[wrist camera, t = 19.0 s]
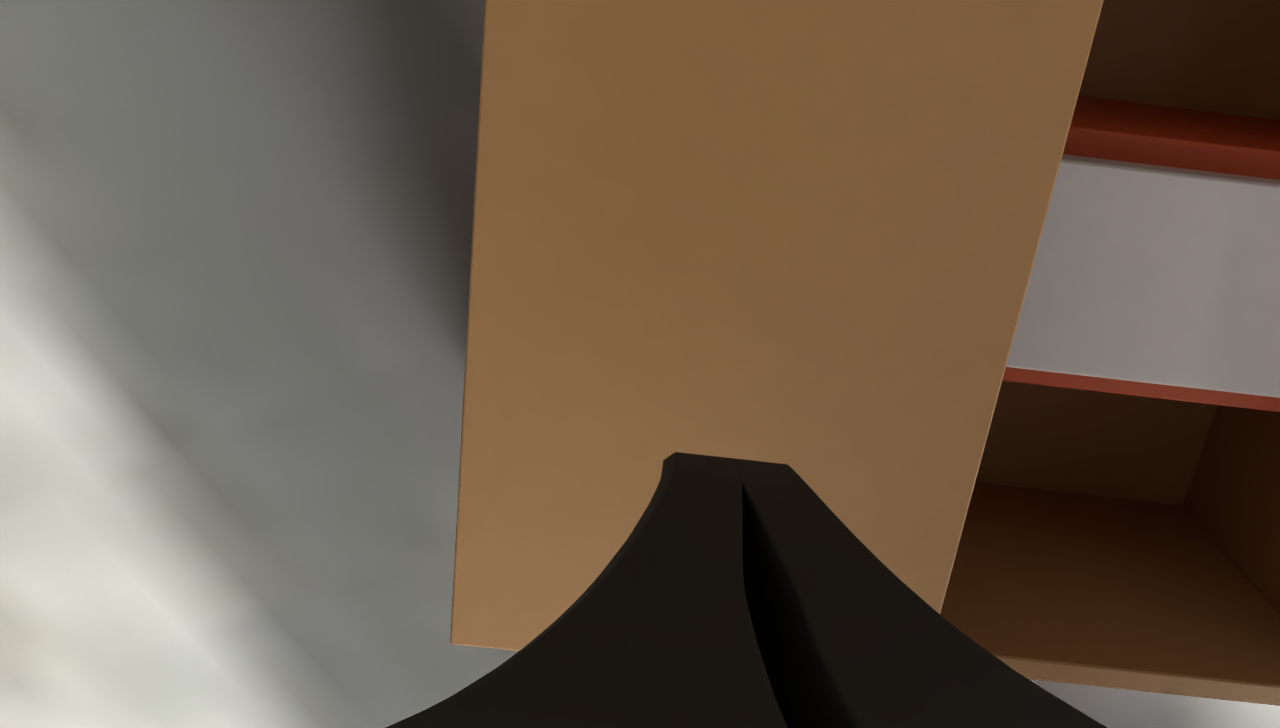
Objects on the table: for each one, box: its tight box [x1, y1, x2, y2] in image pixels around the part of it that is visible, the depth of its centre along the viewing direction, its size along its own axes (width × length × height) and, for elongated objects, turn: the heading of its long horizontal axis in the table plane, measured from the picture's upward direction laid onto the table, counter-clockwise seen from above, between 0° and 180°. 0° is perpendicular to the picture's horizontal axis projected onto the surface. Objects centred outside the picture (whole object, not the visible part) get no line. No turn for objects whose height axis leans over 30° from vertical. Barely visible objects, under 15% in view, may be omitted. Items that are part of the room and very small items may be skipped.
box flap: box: [450, 0, 1104, 651], centre depth 14 cm, size 13×7×1 cm, turn 174°
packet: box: [1002, 96, 1280, 412], centre depth 18 cm, size 4×6×5 cm, turn 84°
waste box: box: [940, 0, 1280, 706], centre depth 17 cm, size 13×15×6 cm
